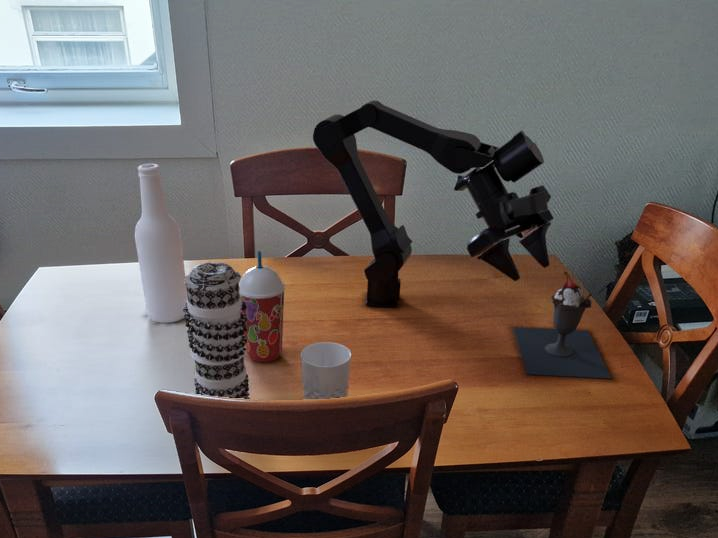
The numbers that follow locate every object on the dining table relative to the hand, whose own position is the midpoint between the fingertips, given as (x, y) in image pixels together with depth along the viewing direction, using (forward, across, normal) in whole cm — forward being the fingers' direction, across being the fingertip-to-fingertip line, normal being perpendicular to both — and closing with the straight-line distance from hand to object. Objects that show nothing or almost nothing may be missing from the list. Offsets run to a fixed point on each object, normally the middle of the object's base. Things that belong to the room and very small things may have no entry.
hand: (532, 273), depth 118 cm
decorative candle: (-2, -58, +20) cm, 62 cm away
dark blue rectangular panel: (+15, 0, +3) cm, 15 cm away
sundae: (+15, 0, +3) cm, 15 cm away
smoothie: (-10, -41, +28) cm, 51 cm away
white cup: (+5, -44, +14) cm, 47 cm away
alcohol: (-29, -46, +48) cm, 72 cm away
